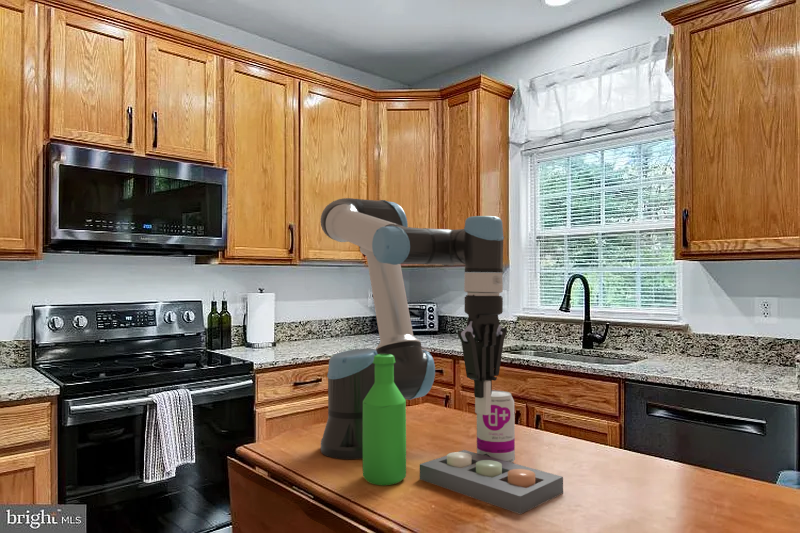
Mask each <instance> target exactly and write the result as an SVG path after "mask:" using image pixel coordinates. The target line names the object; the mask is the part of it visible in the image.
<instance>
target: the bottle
mask: <svg viewBox="0 0 800 533" xmlns="http://www.w3.org/2000/svg"><path fill="white" fill-rule="evenodd" d="M373 363H374V364H375V383H374V385H373V386H372V388H371V389H370V391H369V392H368V394H367V396H366V397H365V399H364V400H363V458H362V477H363V479H364V480H366V481H367V483H370V484H371V485H375V486H392V485H396V484H399V483H400V482H402V481H403V480H404V479H405V478H406V477H407V414H406V413H407V412H406V411H407V410H406V408H407V406H406V405H407V402H406V401H407V399H404V397H403V395H402V394H401V392H400V391H399V389H398V388H397V386H396V385H395V383H394V363H395V358H394V356H393V355H391V354H378V355H375V356H374V360H373Z"/></svg>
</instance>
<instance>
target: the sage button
mask: <svg viewBox="0 0 800 533" xmlns="http://www.w3.org/2000/svg"><path fill="white" fill-rule="evenodd" d="M476 473H478V474H481V475H484V476H488V477H491V478H493V477H495V476H498V475H500V474H502V464H501V463H500V462H497V461H493V460H482V461H478V462H476Z"/></svg>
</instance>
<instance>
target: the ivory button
mask: <svg viewBox="0 0 800 533" xmlns="http://www.w3.org/2000/svg"><path fill="white" fill-rule="evenodd" d="M446 456H447V464H448V465H452V466H455V467H458V468H464V467H466V466H469V465H472V456H471V455H470V454H468V453H464V452H459V451H456V452H455V451H454V452H449V453H447V455H446Z"/></svg>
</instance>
